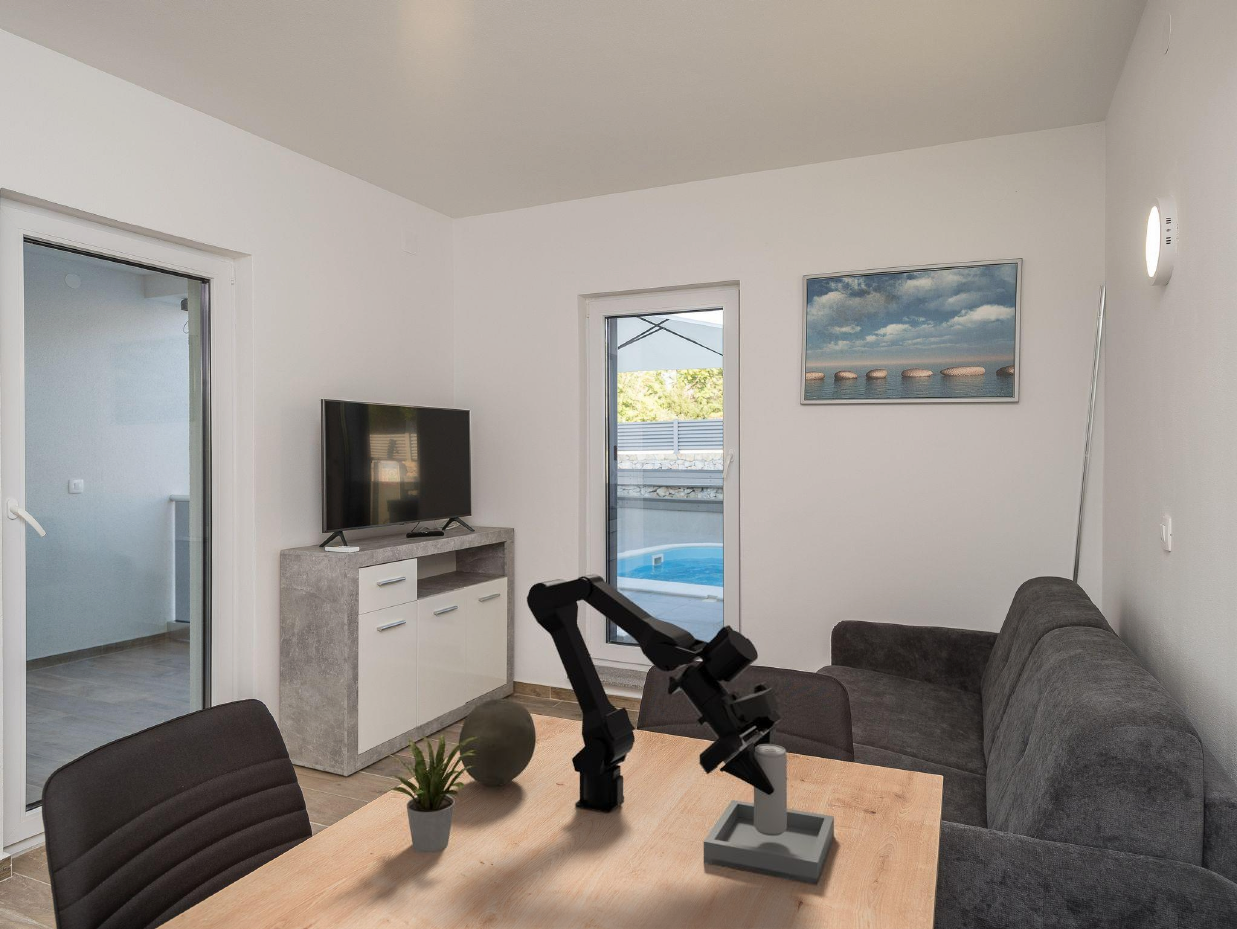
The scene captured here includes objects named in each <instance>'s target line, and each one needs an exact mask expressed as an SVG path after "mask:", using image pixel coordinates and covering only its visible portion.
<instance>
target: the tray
mask: <svg viewBox="0 0 1237 929" xmlns="http://www.w3.org/2000/svg"><path fill="white" fill-rule="evenodd" d="M834 836H835V816H834V815H828V814H821V813H815V812H810V811H804V810H797V809H793V808H792V809H791V808H787V828H786V830H785V832H784V833H782V834H781V835H777V836H769V835H764V834H761V833H759V832H758V831H757V830H756V828H755V827H754V802H749V801H742V800H735V799H732V800H731V801H730V802H729V804H727V807H726V808H725V810H724V811H723V813H722V814H721V815H720V817H719V818H718V820H717V821H716V823H715V824H714V826H713V827H712V828H711V829H710V832H709V833H708V834H707V836H706V838H705V839H704V840H703V863H704V864H708V865H713V866H714V865H715V866H719V867H725V868H729V869H734V870H739V871H743V872H744V871H745V872H750V873H755V874H759V875H765V876H769V877H774V876H775V878H781V879H785V880H791V881H795V882H801V883H806V884H811V885H816V886H818V885H819V882H820V879H821V875H822V873H823V870H824V868H825V864H826V860H827V858H828V855H829V852H830V849H831V846H832V842H833V841H834V840H833V839H834V838H835V837H834Z"/></svg>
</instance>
